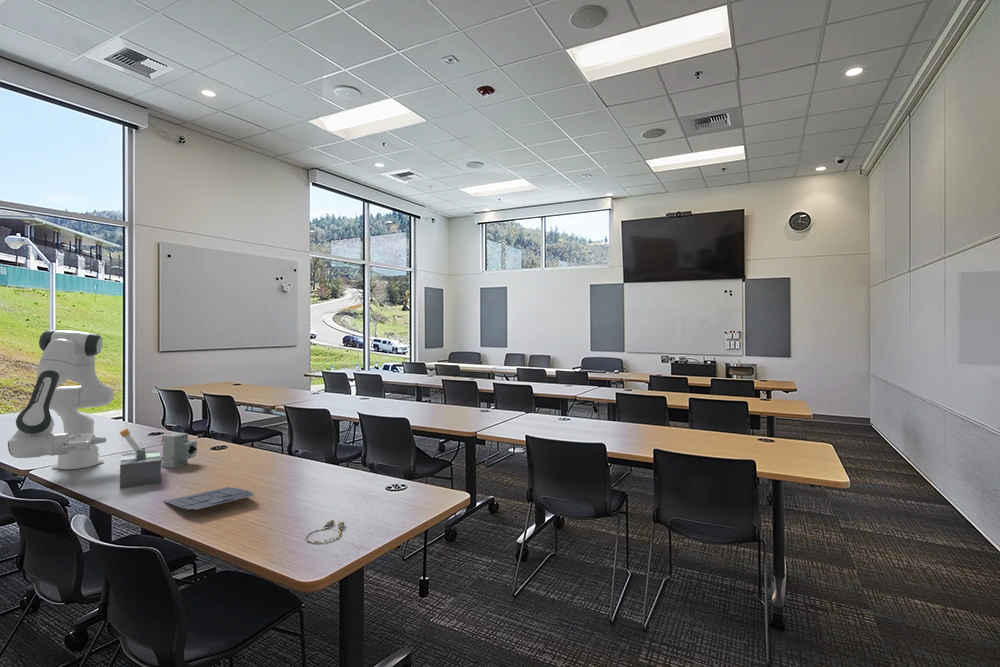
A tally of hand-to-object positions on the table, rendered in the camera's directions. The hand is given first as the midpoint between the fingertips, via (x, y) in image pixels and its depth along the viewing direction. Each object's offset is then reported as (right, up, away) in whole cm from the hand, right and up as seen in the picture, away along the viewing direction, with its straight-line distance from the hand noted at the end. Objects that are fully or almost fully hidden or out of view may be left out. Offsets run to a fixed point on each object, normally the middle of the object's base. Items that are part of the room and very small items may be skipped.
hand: (106, 439), depth 210 cm
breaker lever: (+10, -9, +8) cm, 15 cm away
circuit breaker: (+11, -19, +31) cm, 39 cm away
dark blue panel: (+57, -21, -20) cm, 64 cm away
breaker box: (+9, -19, +7) cm, 23 cm away
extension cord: (+112, -22, -47) cm, 123 cm away
